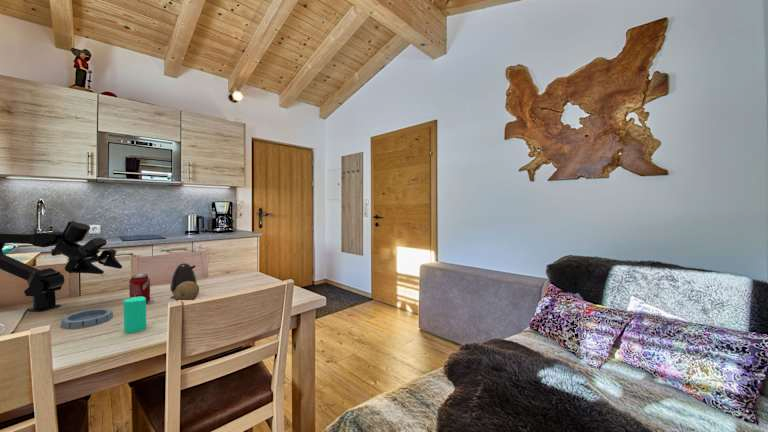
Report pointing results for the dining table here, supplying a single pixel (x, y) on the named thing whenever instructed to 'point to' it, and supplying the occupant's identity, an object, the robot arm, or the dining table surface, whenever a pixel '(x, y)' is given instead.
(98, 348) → the dining table surface
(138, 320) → the candle
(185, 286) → the natural sponge
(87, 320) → the dish
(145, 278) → the soda can
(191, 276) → the dark rounded figure
